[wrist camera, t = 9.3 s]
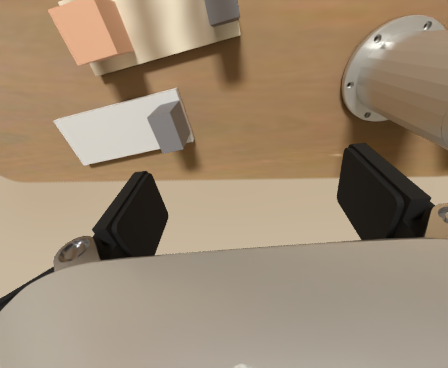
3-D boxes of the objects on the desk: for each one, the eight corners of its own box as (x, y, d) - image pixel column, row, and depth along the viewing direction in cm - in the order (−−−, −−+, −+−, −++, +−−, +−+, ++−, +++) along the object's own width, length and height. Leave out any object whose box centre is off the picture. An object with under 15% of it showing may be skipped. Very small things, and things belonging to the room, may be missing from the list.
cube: (114, 1, 25) (91, -6, 21) (134, 51, 28) (117, 53, 23) (77, 14, 26) (47, 10, 21) (99, 61, 28) (77, 65, 24)
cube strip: (225, -54, 23) (224, -85, 17) (240, 35, 27) (242, 34, 21) (64, 3, 26) (15, -7, 20) (100, 75, 30) (69, 84, 24)
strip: (177, 87, 31) (164, 99, 25) (194, 138, 35) (187, 159, 29) (58, 118, 34) (22, 135, 28) (87, 162, 38) (61, 185, 32)
